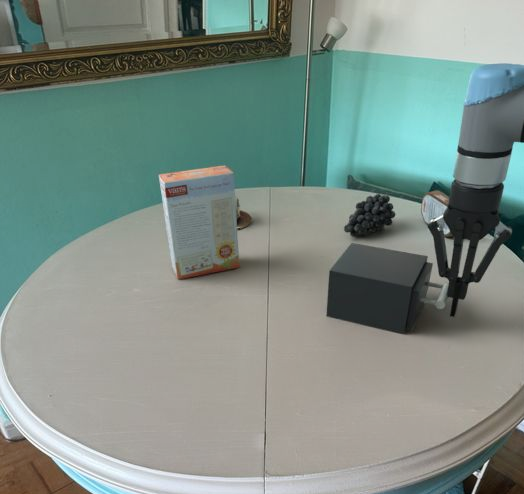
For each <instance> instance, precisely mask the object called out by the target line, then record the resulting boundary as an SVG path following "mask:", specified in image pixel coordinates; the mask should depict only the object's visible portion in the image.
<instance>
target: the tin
mask: <svg viewBox="0 0 524 494" xmlns="http://www.w3.org/2000/svg"><path fill="white" fill-rule="evenodd" d="M448 203H449V196H448V195H446V194H445V193H444V192H442V191H440V190H438V189H437V190H433V191H429V192H426V193H425V194H423V196H422V198H421V206H420V213H421V214H420V215H421V217H422V219H423V222H424V223H425V224H426V225H427V226H428V225H429V223H430V221H431V219H432V218H438V217H440V216H442V215H443V214H444V212H445V210H446V209H447V207H448ZM444 224H445V227H444V229H443V231H444V238H448V237H454V236H453V235H452V233H451V232H450V230H449V228H448V226H447V225H446V223H444Z"/></svg>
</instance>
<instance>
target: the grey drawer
mask: <svg viewBox="0 0 524 494" xmlns="http://www.w3.org/2000/svg"><path fill="white" fill-rule="evenodd" d="M433 266H434V263H433V262H428V261H427V262H426V264H425V266H424V268H423V270H422V272H421V274H420V276H419V278H418V280H417V282H416V284H415V286H414V287H413V290H412V295H411V301H410V307H409V312H408V318H407V324H406V330H410V331H413V330H414V327H415V326H416V323H417V321H418V318H419V316H420V314H421V312H422V309H423V307H424V305H425V303H426V304H430V305H435V307H436V308H437V309H439V310H442V309H444V308H445V307H446V304H447V302H448V299H449V297H448V296H447V291H448V285H449V282H444V283H443V284H442V283H438V282H437V283H436V282H432V281H430V280H431V277H432V270H433ZM429 287H431V288H435V289H440V291H439V294H438V296H437V299H432V298H427V296H428V291H429Z"/></svg>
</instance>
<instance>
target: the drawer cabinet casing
mask: <svg viewBox="0 0 524 494" xmlns="http://www.w3.org/2000/svg"><path fill="white" fill-rule="evenodd" d="M428 259H429V257H428V255H424V254H418V253H412V252H407V251H402V250H395V249H390V248H383V247H378V246H373V245H367V244H361V243H357V242H351V243H350V244H349V245H348V246H347V248H346V249H345V250H344V251H343V253H342V254H341V256H339V258H338V259H337V260H336V261H335V263H334V264H333V265H332V267H331V268H330V269H329V271H328V287H327V300H326V317H329V318H333V319H337V320H341V321H346V322H350V323H354V324H358V325H363V326H366V327H371V328H375V329H378V330H383V331H387V332H388V331H389V332H392V333H395V334H401V335H405V334H406V331H407V329H406V324H407V318H408V312H409V307H410V301H411V295H412V290H413V287H414V286H415V284H416V282H417V280H418V278H419V276H420V274H421V272H422V270H423V268H424V266H425V264H426V262H428Z"/></svg>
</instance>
